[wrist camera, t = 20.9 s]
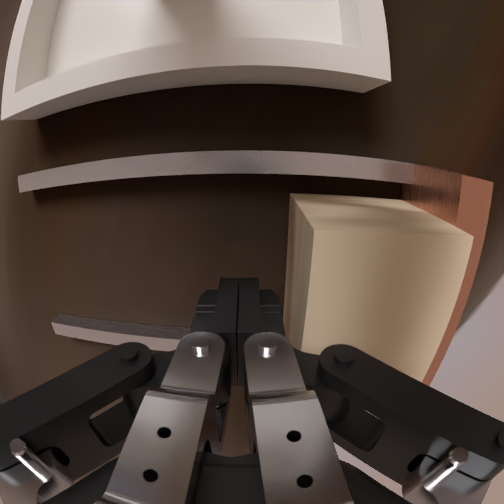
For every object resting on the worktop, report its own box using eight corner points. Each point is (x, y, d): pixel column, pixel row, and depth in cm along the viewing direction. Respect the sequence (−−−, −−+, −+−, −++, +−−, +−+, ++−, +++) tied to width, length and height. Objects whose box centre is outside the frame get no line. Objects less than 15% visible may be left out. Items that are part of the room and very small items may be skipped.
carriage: (282, 318, 16) (293, 400, 10) (289, 193, 13) (314, 229, 8) (379, 315, 16) (420, 384, 10) (401, 200, 13) (473, 236, 7)
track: (63, 324, 17) (28, 366, 12) (30, 173, 13) (-27, 189, 8) (397, 336, 16) (427, 388, 12) (432, 167, 12) (493, 182, 8)
